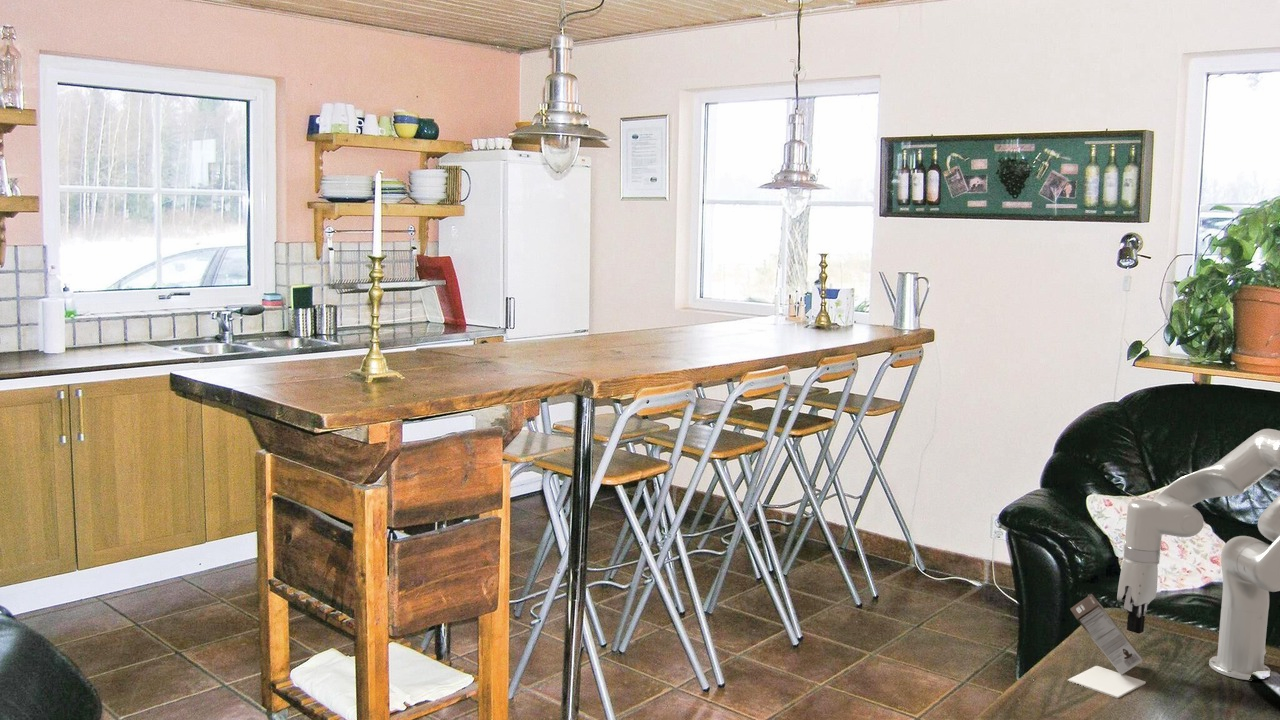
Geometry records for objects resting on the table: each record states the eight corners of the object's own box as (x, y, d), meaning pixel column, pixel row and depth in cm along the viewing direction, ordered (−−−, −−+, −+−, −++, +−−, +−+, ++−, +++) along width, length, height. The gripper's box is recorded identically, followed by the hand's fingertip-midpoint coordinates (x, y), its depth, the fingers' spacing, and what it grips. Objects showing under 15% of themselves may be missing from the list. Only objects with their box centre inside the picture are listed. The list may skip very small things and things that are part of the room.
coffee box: (1112, 663, 258) (1068, 608, 259) (1135, 648, 257) (1091, 592, 258) (1121, 676, 249) (1076, 618, 250) (1145, 660, 248) (1099, 603, 249)
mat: (1096, 667, 255) (1096, 665, 255) (1145, 683, 246) (1145, 681, 246) (1067, 681, 247) (1067, 679, 247) (1117, 698, 238) (1117, 696, 238)
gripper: (1141, 545, 258) (1134, 620, 260) (1109, 555, 248) (1103, 633, 251) (1173, 553, 252) (1166, 629, 254) (1142, 564, 243) (1135, 643, 245)
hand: (1135, 631), depth 252 cm, fingers closed
